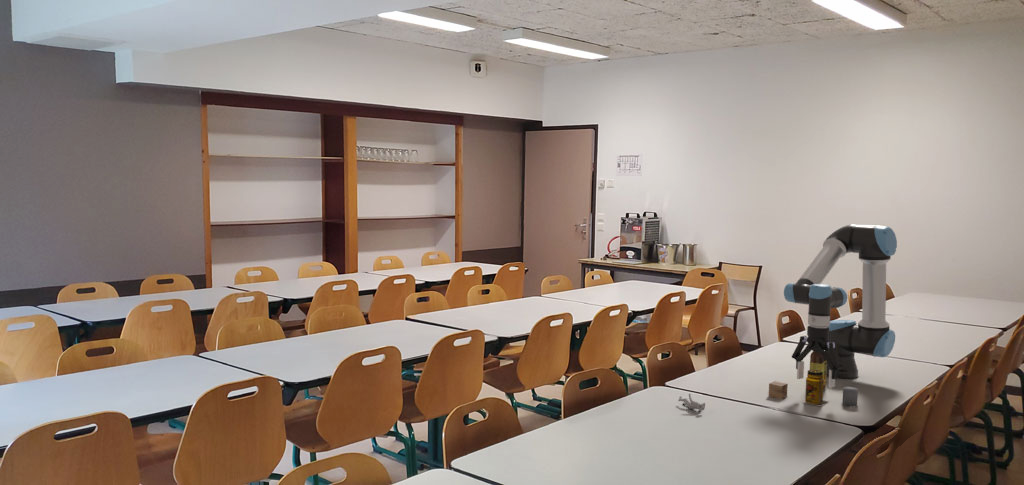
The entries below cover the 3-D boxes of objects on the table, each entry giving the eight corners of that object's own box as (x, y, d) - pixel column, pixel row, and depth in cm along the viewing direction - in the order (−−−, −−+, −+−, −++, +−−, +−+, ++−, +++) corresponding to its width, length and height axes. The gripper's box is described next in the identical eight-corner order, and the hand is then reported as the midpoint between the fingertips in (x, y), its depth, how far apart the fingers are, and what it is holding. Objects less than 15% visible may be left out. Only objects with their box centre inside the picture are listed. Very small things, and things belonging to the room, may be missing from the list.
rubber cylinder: (847, 401, 273) (848, 386, 272) (860, 405, 268) (860, 389, 268) (839, 403, 270) (840, 387, 270) (851, 407, 266) (852, 391, 265)
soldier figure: (690, 406, 269) (714, 404, 259) (685, 417, 266) (709, 415, 256) (677, 393, 267) (700, 390, 257) (671, 403, 265) (695, 401, 255)
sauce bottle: (827, 390, 287) (829, 341, 285) (810, 389, 288) (812, 340, 286) (823, 386, 293) (826, 337, 292) (807, 385, 294) (809, 336, 293)
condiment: (801, 403, 271) (802, 371, 270) (808, 397, 277) (810, 367, 276) (821, 407, 266) (823, 374, 265) (828, 401, 273) (830, 370, 272)
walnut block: (774, 393, 283) (775, 381, 282) (787, 396, 279) (787, 383, 279) (768, 396, 279) (769, 383, 279) (781, 399, 276) (781, 386, 275)
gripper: (783, 321, 278) (781, 376, 280) (842, 333, 257) (838, 392, 258) (797, 319, 282) (794, 373, 284) (855, 331, 260) (852, 389, 262)
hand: (815, 382), depth 271 cm, fingers open, 13 cm apart
